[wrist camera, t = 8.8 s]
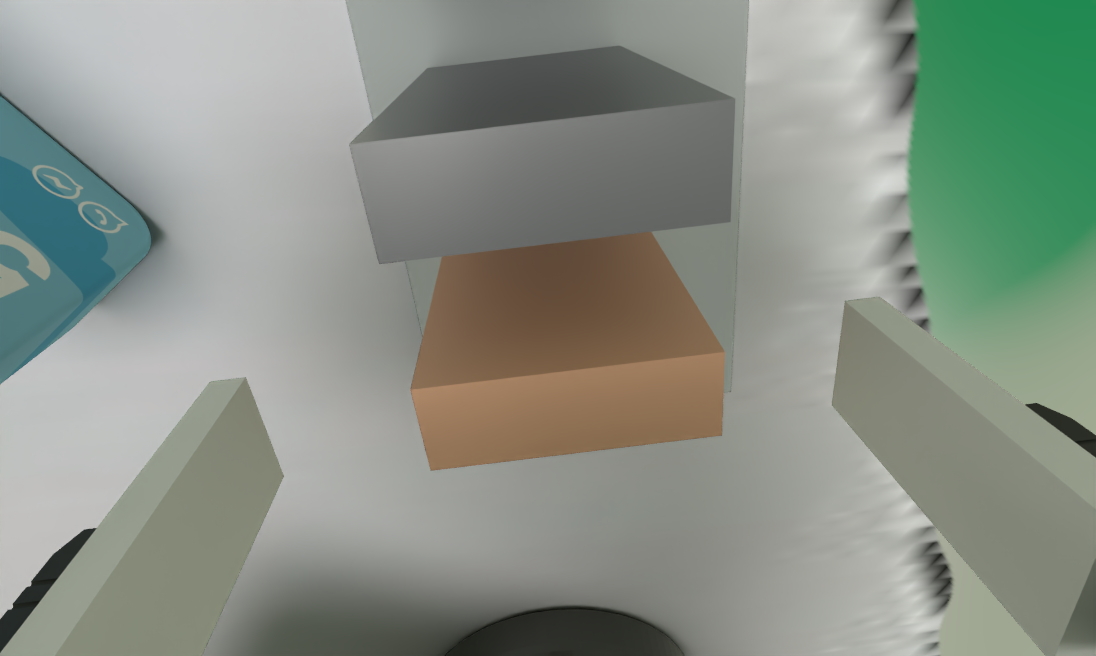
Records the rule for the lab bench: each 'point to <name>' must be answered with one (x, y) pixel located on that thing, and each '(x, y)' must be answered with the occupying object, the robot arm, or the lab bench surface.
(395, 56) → the mat
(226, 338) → the lab bench surface
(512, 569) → the lab bench surface
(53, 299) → the data package
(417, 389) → the domino
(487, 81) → the domino
